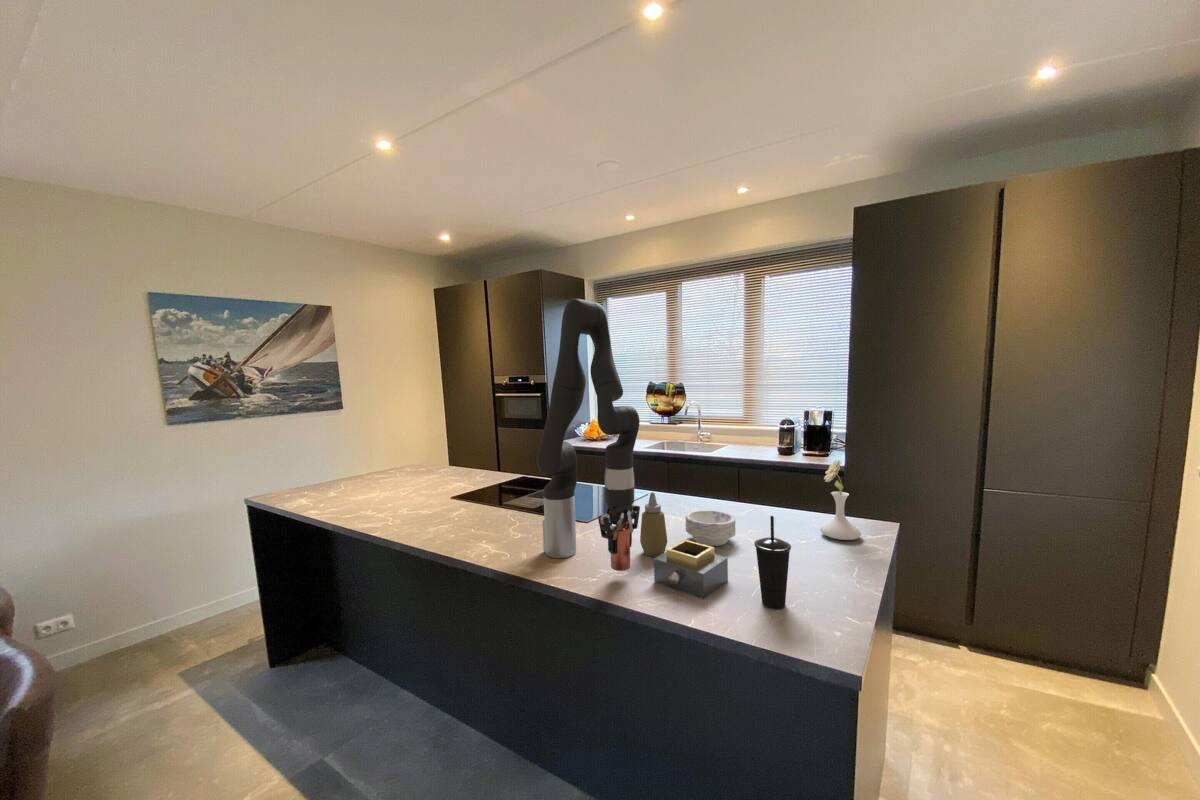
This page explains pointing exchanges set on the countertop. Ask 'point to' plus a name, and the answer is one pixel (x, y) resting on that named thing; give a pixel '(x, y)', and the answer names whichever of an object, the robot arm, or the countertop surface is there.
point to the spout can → (622, 550)
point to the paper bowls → (710, 527)
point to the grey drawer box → (691, 569)
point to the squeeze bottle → (653, 529)
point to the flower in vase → (839, 511)
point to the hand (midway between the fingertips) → (620, 549)
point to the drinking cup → (773, 569)
